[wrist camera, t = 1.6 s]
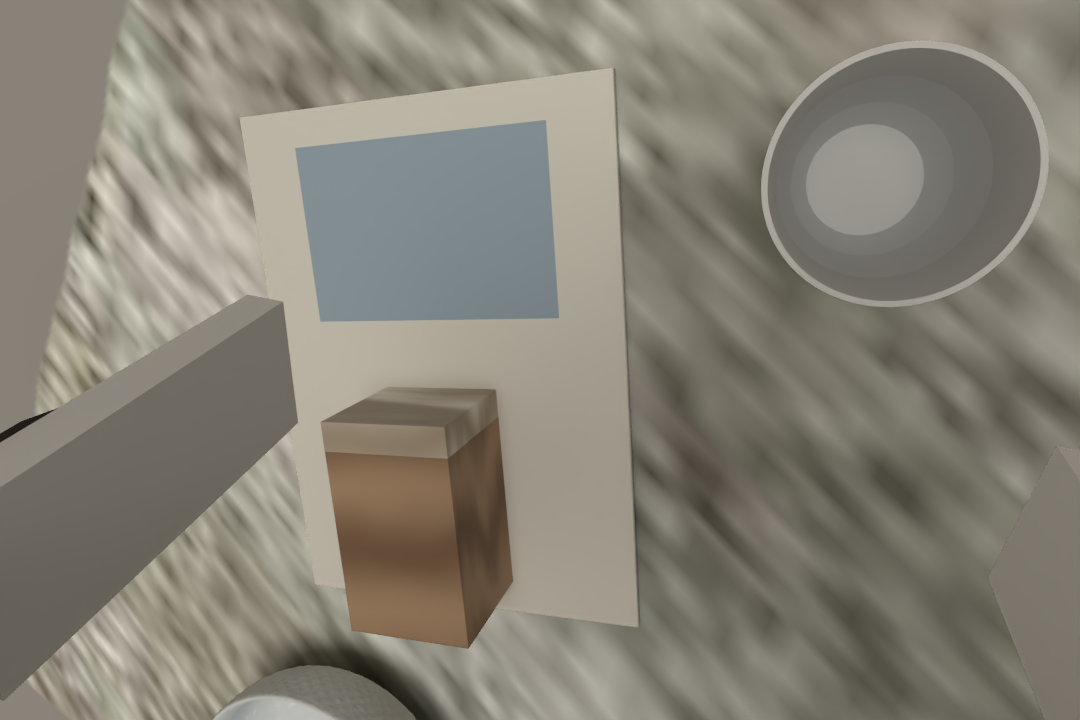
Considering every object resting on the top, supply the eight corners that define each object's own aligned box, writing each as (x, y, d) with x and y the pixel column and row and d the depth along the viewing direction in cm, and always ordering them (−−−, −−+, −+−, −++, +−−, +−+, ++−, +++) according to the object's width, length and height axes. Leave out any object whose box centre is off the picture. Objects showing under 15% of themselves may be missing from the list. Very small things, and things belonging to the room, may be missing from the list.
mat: (639, 623, 40) (637, 627, 40) (318, 581, 47) (315, 584, 47) (614, 68, 33) (612, 67, 33) (244, 118, 40) (239, 117, 40)
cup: (849, 306, 32) (876, 356, 23) (730, 181, 33) (709, 181, 24) (1011, 178, 29) (1115, 177, 20) (876, 41, 30) (918, -21, 20)
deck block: (513, 581, 42) (468, 648, 36) (410, 569, 44) (351, 630, 38) (495, 389, 39) (444, 427, 33) (387, 387, 41) (320, 421, 35)
